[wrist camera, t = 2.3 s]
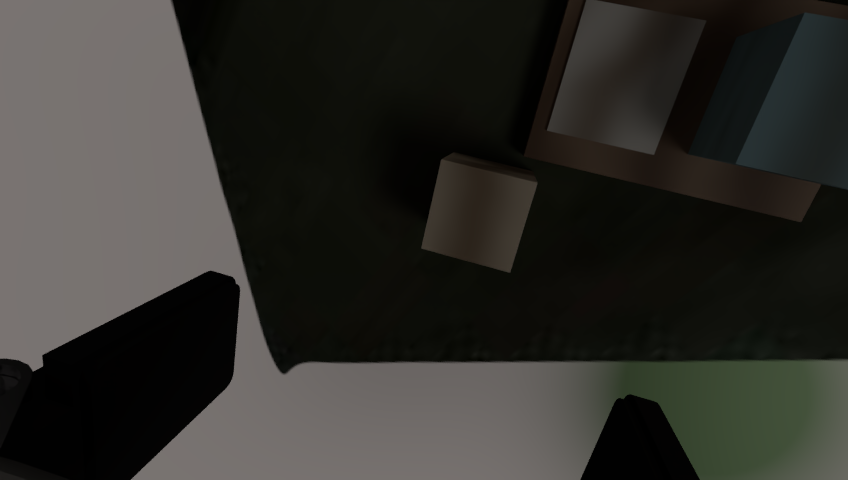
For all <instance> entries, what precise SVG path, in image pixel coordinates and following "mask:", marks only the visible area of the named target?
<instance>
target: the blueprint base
mask: <svg viewBox="0 0 848 480" xmlns="http://www.w3.org/2000/svg"><path fill="white" fill-rule="evenodd" d="M523 156H525V157H529V158H533V159H537V160H541V161H546V162H550V163H554V164H558V165H562V166H567V167H571V168H575V169H579V170H584V171H588V172H592V173H596V174H600V175H605V176H609V177H613V178H617V179H621V180H626V181H630V182H634V183H638V184H643V185H647V186H651V187H655V188H659V189H664V190H668V191H672V192H676V193H680V194H685V195H689V196H693V197H697V198H702V199H706V200H710V201H714V202H718V203H723V204H727V205H731V206H735V207H739V208H744V209H748V210H752V211H756V212H761V213H765V214H769V215H773V216H777V217H782V218H786V219H790V220H794V221H798V222H801V221H802V219H803V217H804V215H805V214H806V212H807V210H808V208H809V206H810V204H811V202H812V201H813V199H814V197H815V195H816V193H817V191H818V189H819V187H820V186H821V184H823V185H828V186H833V187H837V188H842V189H847V190H848V6H846V5H840V4H835V3H829V2H823V1H817V0H568V1H567V4H566V8H565V11H564V15H563V18H562V22H561V25H560V29H559V32H558V35H557V39H556V42H555V46H554V49H553V53H552V56H551V60H550V63H549V67H548V70H547V73H546V77H545V80H544V84H543V87H542V91H541V94H540V98H539V101H538V105H537V108H536V112H535V115H534V118H533V122H532V125H531V129H530V132H529V136H528V139H527V143H526V146H525V150H524V153H523Z"/></svg>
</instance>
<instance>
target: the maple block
mask: <svg viewBox="0 0 848 480" xmlns="http://www.w3.org/2000/svg"><path fill="white" fill-rule="evenodd" d="M536 186H537V180H536V178H535V176H534V173H533V171H530V170H526V169H522V168H518V167H514V166H509V165H505V164H501V163H497V162H493V161H489V160H484V159H480V158H476V157H472V156H468V155H464V154H460V153H455V152H453V153H451V154H450V155H448V156H446V157H445V158H443V159H441V163H440V168H439V172H438V177H437V181H436V185H435V190H434V194H433V199H432V203H431V208H430V212H429V216H428V221H427V225H426V230H425V234H424V239H423V243H422V247H421V248H422V249H426V250H429V251H433V252H436V253H440V254H444V255H447V256H451V257H455V258H458V259H462V260H466V261H469V262H473V263H477V264H480V265H484V266H488V267H491V268H495V269H498V270H502V271H506V272H509V273H510V271H511V268H512V264H513V261H514V258H515V255H516V251H517V248H518V245H519V242H520V238H521V235H522V232H523V229H524V225H525V222H526V219H527V215H528V212H529V209H530V206H531V202H532V199H533V196H534V193H535V189H536Z"/></svg>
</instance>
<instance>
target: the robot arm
mask: <svg viewBox="0 0 848 480" xmlns="http://www.w3.org/2000/svg"><path fill="white" fill-rule="evenodd" d="M239 298H240V287H239V285H237V284H236V282H235V279H234V278H233V277H231V276H227V275H224V274H221V273H217V272H214V271H208V272H206V273H204V274H202V275H200V276H198V277H196V278H194V279H192V280H190V281H188V282H186V283H184V284H182V285H180V286H178V287H176V288H174V289H172V290H170V291H168V292H166V293H164V294H162V295H160V296H158V297H156V298H154V299H152V300H150V301H148V302H146V303H144V304H143V305H140V306H138V307H136V308H135V309H133V310H131V311H129V312H127V313H125V314H123V315H121V316H119V317H117V318H115V319H113V320H111V321H109V322H107V323H105V324H103V325H101V326H99V327H97V328H95V329H93V330H91V331H89V332H87V333H85V334H83V335H81V336H79V337H77V338H75V339H73V340H71V341H69V342H68V343H65V344H63V345H62V346H59V347H58V348H56V349H54V350H52V351H50V352H48V353H46V354H44V355H43V356H42V357H43V367H41V368H39V369H37V370H36V371H34V372H33V371H32V369H31V368H30V367H29V365H27V364H25V363H23V362H21V361H18V360H11V359H0V480H131V479H132V478H133V477H134V476H135V475H136V474H137V473H138V472H139V471H140V470H141V469H142V468H143V467H144V466H145V465H146V464H147V463H148V462H150V461H151V460H152V459H153V458H154V457H155V456H156V455H157V454H158V453H159V452H160V451H161V450H162V449H163V448H164V447H165V446H166V445H167V444H168V443H169V442H170V441H171V440H172V439H174V438H175V437H176V436H177V435H178V434H179V433H180V432H181V431H182V430H183V429H184V428H185V427H186V426H187V425H188V424H189V423H190V422H191V421H192V420H193V419H194V418H195V417H196V416H197V415H198V414H200V413H201V412H202V411H203V410H204V409H205V408H206V407H207V406H208V405H209V404H210V403H211V402H212V401H213V400H214V399H215V398H216V397H217V396H218V395H219V394H220V393H222V392H223V391H224V390H225V389H226V388H227V386H228V385H229V383H230V382H231V380H232V377H233V372H234V359H235V348H236V334H237V323H238V310H239ZM581 480H700V479H699V477H698V476H697V474H696V472H695V470H694V468H693V467H692V465H691V463H690V461H689V459H688V457H687V455H686V453H685V452H684V450H683V448H682V446H681V444H680V442H679V441H678V439H677V437H676V435H675V433H674V432H673V430H672V428H671V426H670V424H669V422H668V420H667V418H666V417H665V415H664V413H663V411H662V409H661V407H660V406H659V404H658V403H657V402H654V401H651V400H647V399H644V398H641V397H637V396H634V395H627V396H626V397H625V398H624V399H621V398H618V399H617V400H616V401H615V403H614V405H613V407H612V410H611V412H610V414H609V416H608V419H607V421H606V423H605V425H604V428H603V430H602V432H601V434H600V437H599V439H598V441H597V444H596V446H595V448H594V450H593V453H592V455H591V457H590V459H589V462H588V464H587V466H586V468H585V471H584V473H583V475H582V477H581Z"/></svg>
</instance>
